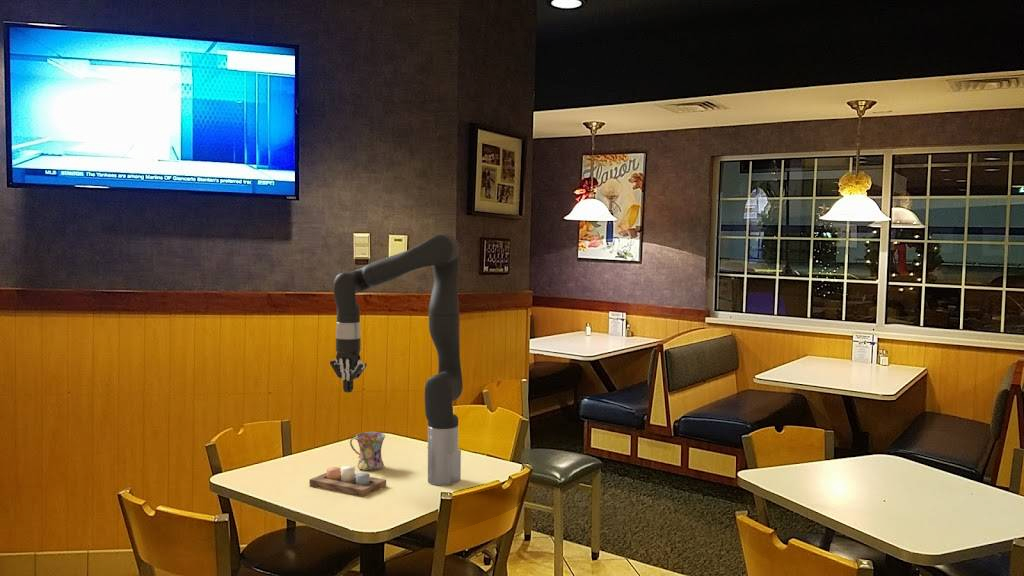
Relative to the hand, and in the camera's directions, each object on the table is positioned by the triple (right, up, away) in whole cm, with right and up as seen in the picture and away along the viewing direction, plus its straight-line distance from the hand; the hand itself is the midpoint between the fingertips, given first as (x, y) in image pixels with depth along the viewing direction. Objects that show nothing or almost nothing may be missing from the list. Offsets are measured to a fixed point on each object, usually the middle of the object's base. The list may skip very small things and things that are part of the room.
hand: (348, 391), depth 246 cm
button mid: (+2, -25, -10) cm, 27 cm away
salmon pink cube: (-3, -26, -7) cm, 27 cm away
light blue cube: (+7, -27, -12) cm, 30 cm away
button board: (+2, -27, -9) cm, 29 cm away
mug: (+4, -26, +10) cm, 28 cm away
